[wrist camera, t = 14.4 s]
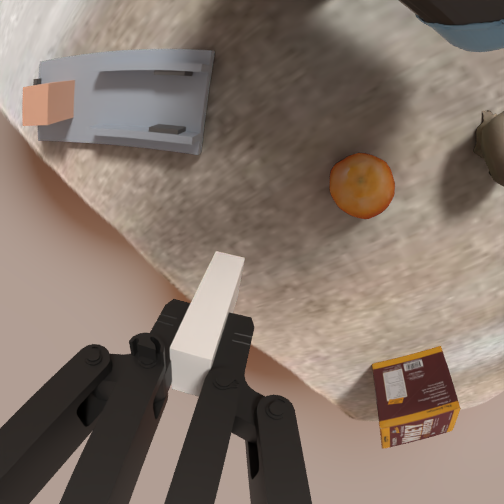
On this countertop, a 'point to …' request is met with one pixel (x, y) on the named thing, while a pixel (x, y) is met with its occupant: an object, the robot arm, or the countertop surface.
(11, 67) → the countertop surface
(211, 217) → the countertop surface
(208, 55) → the chute
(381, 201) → the fruit
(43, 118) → the block
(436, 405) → the supplement box
